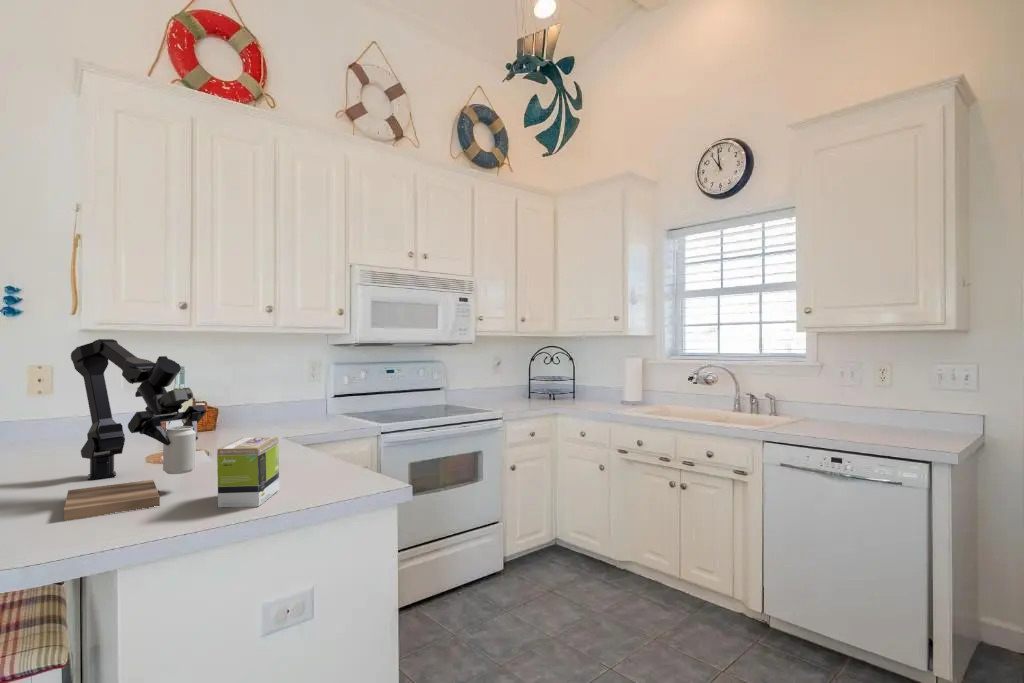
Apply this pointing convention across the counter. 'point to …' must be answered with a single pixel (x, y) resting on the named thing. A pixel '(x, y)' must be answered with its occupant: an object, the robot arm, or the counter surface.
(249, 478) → the tea box
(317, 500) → the counter surface
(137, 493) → the brown wooden slab
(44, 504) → the counter surface
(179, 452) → the can
